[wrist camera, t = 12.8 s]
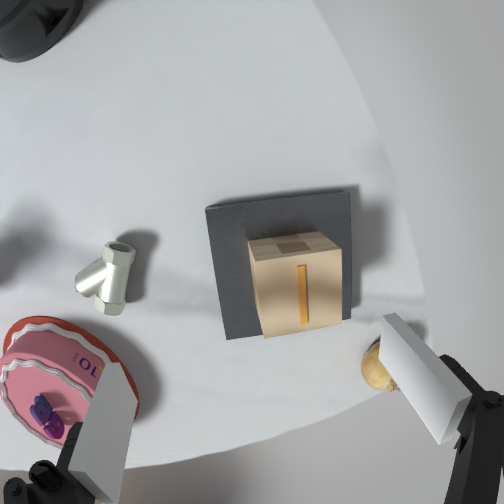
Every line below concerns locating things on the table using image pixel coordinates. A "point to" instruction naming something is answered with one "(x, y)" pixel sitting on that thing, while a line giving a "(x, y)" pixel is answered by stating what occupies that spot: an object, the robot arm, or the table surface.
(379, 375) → the onion
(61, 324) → the cake
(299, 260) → the taped cardboard box
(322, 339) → the table surface
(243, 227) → the grey piece
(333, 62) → the table surface
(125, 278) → the pipe fitting
